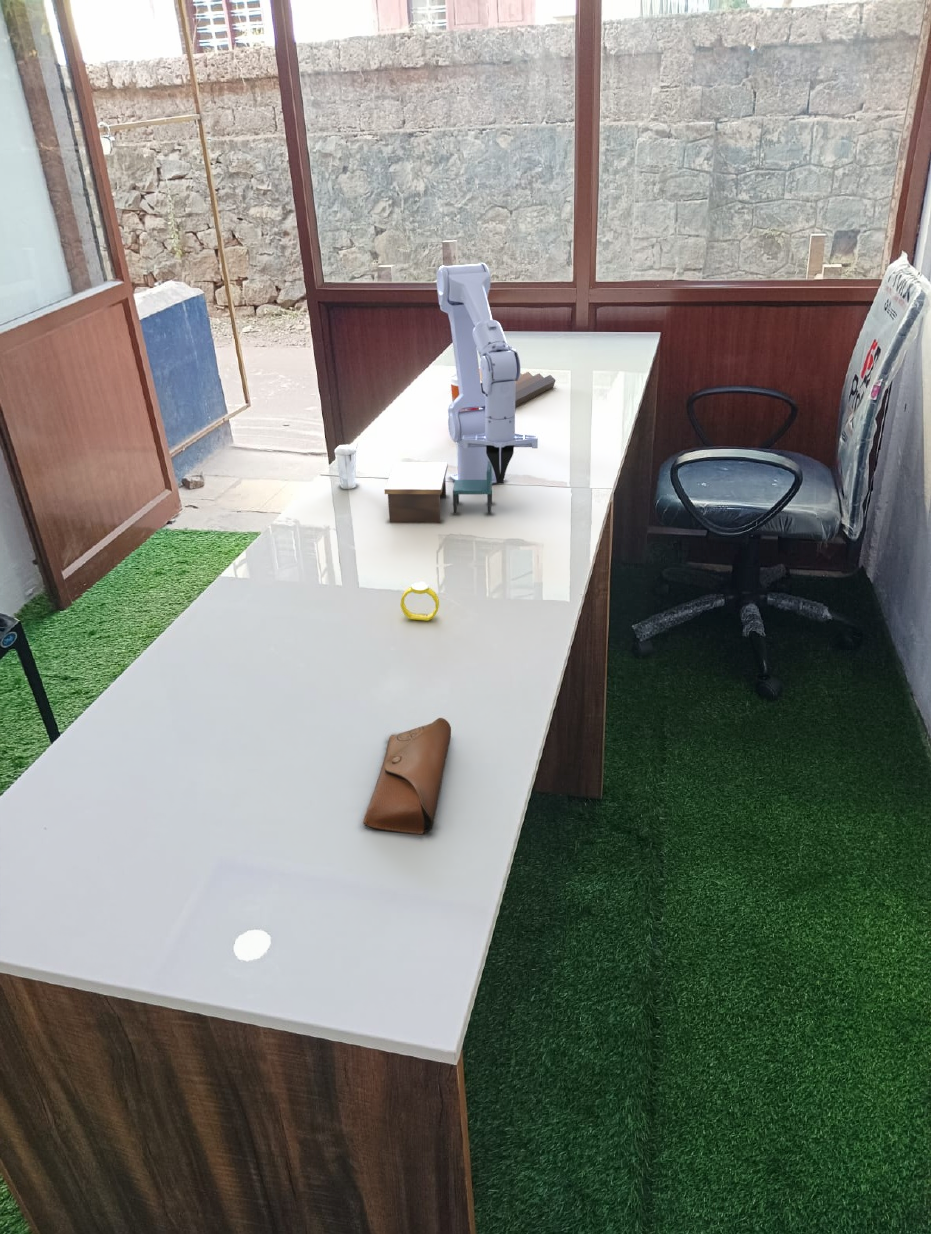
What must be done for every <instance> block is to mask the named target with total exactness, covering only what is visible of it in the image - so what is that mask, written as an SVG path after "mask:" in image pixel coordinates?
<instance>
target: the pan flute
mask: <svg viewBox="0 0 931 1234" xmlns="http://www.w3.org/2000/svg"><path fill="white" fill-rule="evenodd" d="M479 373H480V380H481V382H482V377H481V371H480V368H479ZM514 382H515V408H517V407H518V406H520V405H522V404H524V403H526V402H528V401H529V400H531V399H533V398H535V397H537V396H539V395H541V394H543V393H545V392H547V391H549V390H551V389H553V388H554V387H555V383H556V379H555V378H554V377H553V376H552V375H551V374H549V375H547V376H545V377H544V376H543V375H542V374H541V373H536V374H535V375H532V374H531V372H529V371H526V372H524V373H521V372H520V377H519V379H518V381H514ZM481 389H482V393H483V394H484V395H485V392H484V391H483V387H482V383H481Z"/></svg>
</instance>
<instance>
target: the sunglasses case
mask: <svg viewBox="0 0 931 1234" xmlns="http://www.w3.org/2000/svg"><path fill="white" fill-rule="evenodd" d="M451 736H452V726H451V724H450V723H449V721H448V720H447V719H446V718H444V717H438V718H436V719H435V720H434V721H432V722H430V723H428V724H425V725H424V724H423V725H422V726H418V727H415V728H412V729H410V730H406V731H403V732H401V733H397V734H391V735H390V736H389V738H388V741H387V745H386V750H385V754H384V758H383V762H382V766H381V769H380V772H379V775H378V777H377V781H376V784H375V787H374V790H373V793H372V796H371V798H370V801H369V804H368V806H367V808H366V812H365V815H364V817H363V821H362V823H363V825H364V826H366V827H367V828H371V829H374V830H379V831H384V832H392V833H400V834H411V835H424V834H427V833H429V832H430V831H432V828H433V827H434V823H435V819H436V814H437V809H438V803H439V799H440V793H441V789H442V783H443V782H442V781H443V778H444V772H445V766H446V761H447V757H448V752H449V748H450V747H449V746H450V743H451Z"/></svg>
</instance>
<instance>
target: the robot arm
mask: <svg viewBox="0 0 931 1234" xmlns="http://www.w3.org/2000/svg"><path fill="white" fill-rule="evenodd" d="M491 281H492V280H491V273H490V270H489V267H488V266H487V264H486V263H485V262H480V263H475V264H474V263H473V264H461V265H460V264H459V265H448V266H447V265H441V266H440V267H439V268H438V270H437V272H436V290H437V291H436V292H437V299H438V305H439V308H440V311H442V312H443V313H446V314H447V316H448V320H449V325H450V331H451V332H450V333H451V339H452V346H453V348H452V349H453V355H454V363H455V364H454V365H455V371H456V374H457V380H458V388H459V396H458V397H457V398H456V399H455V400H454V401H453V402H451V403H450V405H448V408H447V414H448V415H447V417H448V419H447V421H448V422H447V426H448V427H447V428H448V433H449V436H450V438H451V440H452V441H453V442H454V443H456V458H457V461H456V462H457V474H456V473H455V474H451V475H450V478H451V479H452V480H453V481H455V480H487V464H488V461H490V462H491V464H492V485H493V484H497V485H500V484H501V485H502V484H504V482H505V481H506V480H505V476H506V472H507V469H508V467H509V464H510V462H511V459H512V458H513V455H514V453H515V452H514V451H515V448H532V449H538V445H539V441H538V439H539V438H538V437H539V436H538V435H532V434H531V435H530V434H522V433H516V407H515V382H514V381H518V379H519V377H520V373H521V360H520V356H519V353H518V351H517V350H516V349H515V348H514V347H513V346H512V345H509V344H508V341H507V338H506V336H505V332H504V330H503V327H502V325H501V323H500V321H498V320H495V319H493V315H492V312H491V308H490V303H489V300H488V297H489V292H490V289H491V283H492V282H491ZM478 355H479V358H480V362H479V358H478ZM479 363H480V364H479ZM479 369H480V371H481V377H482V387H483V391H484V392H485V395H484V394H483V393H482V389H481V381H480V373H479ZM471 408H479V410H470V411H461V412H459V411H460V410H462V409H471Z"/></svg>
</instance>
